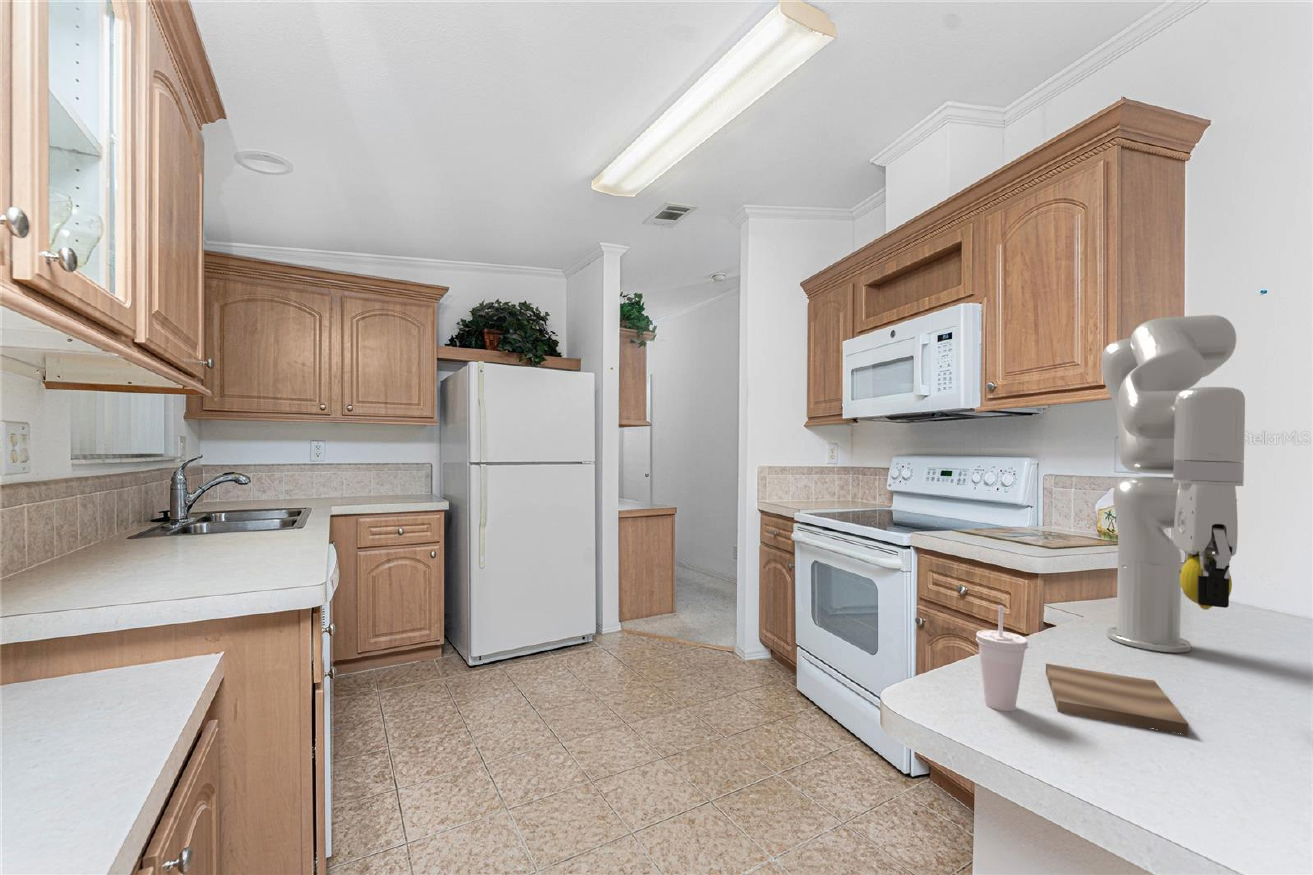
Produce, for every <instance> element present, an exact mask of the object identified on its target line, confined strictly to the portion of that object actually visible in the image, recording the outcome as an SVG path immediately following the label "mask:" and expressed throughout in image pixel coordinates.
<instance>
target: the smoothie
mask: <svg viewBox="0 0 1313 875" xmlns="http://www.w3.org/2000/svg"><path fill="white" fill-rule="evenodd" d="M997 623H998V624H997V625H998V628H997V630H996V629H983V630H979V631H977V632H976V634H975V636H976V637H975V641H976V642H977V643H978V649H979V659H980V668H981V677H982V686H983V694H984V697H983V698H984V703H985V705H986V706H987V705H988V706H987V707H988V708H991V709H994V710H997V711H1001V712H1014V711H1015V710H1016V706H1017V700H1018V695H1019V689H1020V681H1021V676H1022V670H1023V664H1024V658H1025V651H1026V650H1027V649H1029V646H1028V639H1027V638H1026V637H1024V636H1022V635H1020V634H1017V633H1013V632H1009V631H1004V606H1003V605H998V622H997Z"/></svg>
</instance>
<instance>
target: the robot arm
mask: <svg viewBox="0 0 1313 875" xmlns="http://www.w3.org/2000/svg"><path fill="white" fill-rule="evenodd" d="M1236 346H1237V333H1236V330H1235V326H1234V325H1233V324H1232V322H1231V321H1230V320H1229V319H1227V318H1225V317H1224V316H1221V315H1216V314H1209V315H1207V314H1206V315H1205V314H1204V315H1189V316H1188V315H1187V316H1171V317H1160V318H1158V317H1157V318H1154V319H1151V320H1150V319H1149V320H1148V321H1145V322H1143V323H1141V324H1139V325H1138V326H1137V327H1136V328H1135V329H1134V330H1133V332H1132V333H1131V336H1130V338H1129V337H1128V338H1122V339H1120V340H1116V341H1112V342H1111V343H1110V344H1108V345H1107V346H1106V347H1104V349H1103V352H1102V355H1101V373H1102V378H1103V382H1104V385H1105V388H1106V390H1107V392H1108V394H1109V396H1110V398H1111V401H1112V402H1113V404H1114V408H1115V410H1116V423H1117V434H1118V435H1117V436H1118V450H1119V457H1120V461H1121V464H1122V465H1123V466H1124V468H1125V469H1126V470H1128V471H1131V472H1134V473H1142V474H1156V475H1157V474H1158V475H1172V476H1173V477H1172V476H1133V477H1126V478H1124V479H1122V480H1120V481H1119V482H1118V483H1116V485H1115V486H1114V489H1113V498H1112V499H1113V506H1114V507H1113V508H1114V514H1115V519H1116V528H1117V582H1116V583H1117V584H1116V585H1117V586H1116V587H1117V592H1116V593H1117V594H1116V595H1117V597H1116V626H1113V627H1108V628H1107V629H1106V637H1108V638H1109V639H1110V640H1113V641H1115V642H1117V643H1121V644H1122V645H1125V646H1130V647H1134V648H1138V649H1143V650H1149V651H1154V652H1162V653H1180V654H1181V653H1187V652H1190V651H1191V649H1192V644H1191V642H1190V641H1188V640H1187V639H1185V638H1183V637H1181V616H1182V615H1181V613H1182V605H1181V604H1182V603H1181V601H1182V588H1181V584H1180V575H1181V570H1182V553H1181V550H1182V551H1184V554H1185V556H1184V562H1183V563H1184V564H1185V563H1186V562H1187V561H1188V560H1189V559H1191V558H1193V557H1196V556H1200V567H1201V576H1200V575H1198V595H1197V602H1198V603H1199V604H1200V605H1205V606H1212V607H1213V608H1214V607H1216V608H1223V609H1224V608H1228V607H1229V606H1230V605H1229V604H1230V603H1229V602H1230V596H1229V577H1230V576H1231V574H1229V573H1230V561H1231V559H1232V557H1234V556H1235V555H1236V554H1237V551H1238V550H1237V549H1238V534H1239V533H1238V532H1239V530H1238V524H1239V523H1238V503H1237V502H1238V499H1237V491H1236V490H1237V488H1236V487H1243V486H1244V481H1245V480H1244V478H1245V476H1244V475H1245V474H1244V473H1245V432H1246V431H1245V428H1246V426H1245V423H1246V422H1245V421H1246V418H1245V416H1246V399H1245V398H1246V396H1245V395H1244V392H1242V390H1240V389H1239V388H1235V387H1229V386H1228V387H1227V386H1208V387H1206V386H1205V387H1204V386H1203V387H1194V386H1195V385H1196V384H1198V383H1199V382H1200V380H1201V379H1202V378H1206V377H1208V376H1209V375H1211V374H1212V373H1213V372H1215V371H1216V370H1217V369H1218V368H1220V367H1221V366H1223V364H1225V363H1226V362H1227V361H1229V359H1230V358H1231V357H1232V356H1233V353H1234V352H1235V349H1236ZM1165 529H1173V537H1172V538H1173V539H1172V538H1170V537H1169V536H1168V534H1167V533H1166V532H1165V531H1164V530H1165ZM1207 559H1210V561H1209V565H1208V562H1207ZM1184 564H1183V565H1184Z"/></svg>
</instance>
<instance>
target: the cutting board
mask: <svg viewBox="0 0 1313 875" xmlns="http://www.w3.org/2000/svg"><path fill="white" fill-rule="evenodd" d="M1045 675H1046V679H1047V680H1048V685H1049V688H1050V691H1051V695H1052V697H1053V700H1054V701H1053V702H1054V703H1055V708H1056V710H1057V712H1058V713H1064V714H1069V715H1074V716H1075V715H1076V716H1080V717H1085V718H1091V719H1097V720H1101V721H1102V720H1103V721H1106V722H1107V721H1108V722H1113V723H1118V724H1123V725H1128V726H1133V727H1138V728H1139V727H1140V728H1144V727H1145V729H1149V728H1154V729H1158V730H1157V731H1159V730H1163V731H1162V732H1165V731H1167V732H1166V733H1170V732H1175V733H1179V734H1178V735H1181V734H1183V735H1182V736H1186V735H1188V736H1189V723H1188V722H1187V720H1186V719H1185V718H1184V716H1183V714H1181V713H1180V711H1179V710H1178V708H1176V706H1175V705H1174V703H1173V702H1172V701H1171V700H1170V699H1169V697H1168V696H1167V694H1165V692H1164V691H1163V689H1162V688H1161V687H1160V686H1159V685H1158V683H1157V682H1156V680H1153V679H1147V678H1141V677H1133V676H1127V675H1121V674H1115V673H1109V672H1101V671H1097V670H1089V669H1083V668H1078V667H1071V666H1064V665H1059V664H1058V665H1057V664H1053V663H1052V664H1051V663H1045ZM1154 729H1153V730H1154ZM1175 733H1174V734H1175ZM1180 733H1181V734H1180Z"/></svg>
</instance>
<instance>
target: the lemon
mask: <svg viewBox="0 0 1313 875" xmlns="http://www.w3.org/2000/svg"><path fill="white" fill-rule="evenodd" d="M1209 561H1210V559H1207V562H1208V565H1209ZM1229 574H1230V572H1229ZM1198 575H1200V576H1201V567H1200V556H1196V557H1193V558H1191V559H1189V560H1188V561H1187V562H1186V563H1185V564H1183V566H1182V567H1181V575H1180V584H1181V591H1182V592H1183V594H1184V595H1185V596H1186V598H1188V599H1189V600H1190V601H1191V602H1193V603H1195V604H1197V605H1198V606H1199V607H1200V608H1201V609H1202V610H1205V611H1207V610H1210V609H1211V608H1212V607H1213V606H1205V605H1200V604H1199V603H1198V602H1197V595H1198ZM1232 586H1233V580H1232V575H1231V574H1230V577H1229V597H1230V596H1231V593H1232Z"/></svg>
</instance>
